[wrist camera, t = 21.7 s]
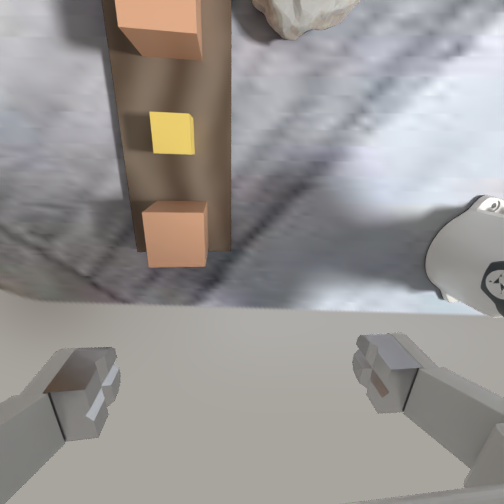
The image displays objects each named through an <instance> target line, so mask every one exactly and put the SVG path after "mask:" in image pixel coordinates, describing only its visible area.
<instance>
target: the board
mask: <svg viewBox="0 0 504 504" xmlns="http://www.w3.org/2000/svg"><path fill="white" fill-rule="evenodd" d="M102 6H103V13H104V20H105V27H106V34H107V41H108V48H109V55H110V62H111V69H112V76H113V83H114V90H115V97H116V104H117V111H118V118H119V126H120V133H121V140H122V147H123V154H124V161H125V168H126V175H127V182H128V189H129V196H130V203H131V210H132V217H133V224H134V231H135V238H136V246H137V252H147V249H146V241H145V233H144V226H143V218H142V212H143V211H144V210H146V209H147V208H148V207H149V206H151V205H152V204H153V203H155V202H156V201H207V217H208V251H231V0H201V30H202V61H198V60H185V59H172V58H159V57H145V56H142V55H141V54H140V53H139V51H138V50H137V49H136V48H135V47H134V45H133V44H132V43H131V42H130V40H129V39H128V38H127V37H126V36H125V34H124V33H123V32H122V31H121V30H120V28H119V27H118V22H117V14H116V6H115V0H102ZM149 112H168V113H188V114H190V115H191V116H192V117H193V125H194V147H195V154H192V155H189V154H159V153H154V152H153V142H152V132H151V122H150V113H149Z"/></svg>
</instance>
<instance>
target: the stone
mask: <svg viewBox="0 0 504 504" xmlns="http://www.w3.org/2000/svg"><path fill="white" fill-rule="evenodd" d="M360 1H361V0H252V3H253V5H254V7H255V8H256V9H258V10H259V11H261V12H262V13H263V14H264V15H265V16H266V20H267V22H268V24H269V25H270V26H271V27H272V28H273V29H274V30H275V31H276V32H277V33H279V35H280V36H281V37H282V38H284V39H287V40H297V38H298V37H299V36H301V35H303V34H304V33H305V32H306V31H308V30H312V29H315V30H325V29H328V28H330V27H332V26H335V25H337V24H339V23H341V22H342V21H343V20H344V19H345V18H346V17H347V15H348V14H349V13H350V12H351V11H352V9H353V8H354V7H355V6H356V5H357V4H358V3H359V2H360Z"/></svg>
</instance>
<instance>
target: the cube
mask: <svg viewBox="0 0 504 504" xmlns="http://www.w3.org/2000/svg"><path fill="white" fill-rule="evenodd" d="M149 113H150V122H151V132H152V142H153V152H154V153H159V154H189V155H192V154H195V147H194V125H193V117H192V116H191V115H190V114H188V113H168V112H149Z"/></svg>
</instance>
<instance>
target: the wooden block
mask: <svg viewBox="0 0 504 504" xmlns="http://www.w3.org/2000/svg"><path fill="white" fill-rule="evenodd" d="M142 218H143V226H144V233H145V241H146V249H147V257H148V265H149V268H151V267H206V260H207V253H208V217H207V201H156V202H155V203H153V204H152V205H151V206H149V207H148V208H147V209H146V210H144V211H143V212H142Z"/></svg>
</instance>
